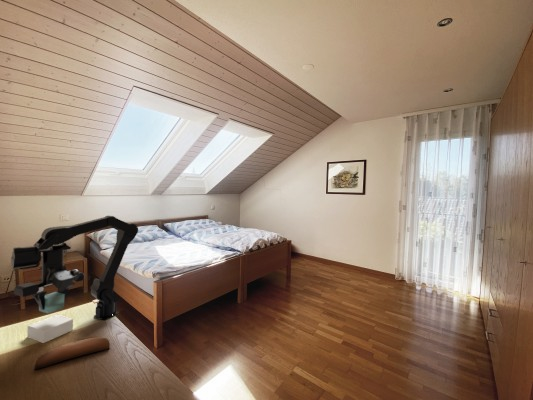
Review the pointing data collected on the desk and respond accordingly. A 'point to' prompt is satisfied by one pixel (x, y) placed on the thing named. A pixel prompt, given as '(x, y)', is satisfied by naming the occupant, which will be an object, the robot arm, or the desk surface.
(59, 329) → the large white block
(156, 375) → the desk surface
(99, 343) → the sunglasses case
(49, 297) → the teal cube
